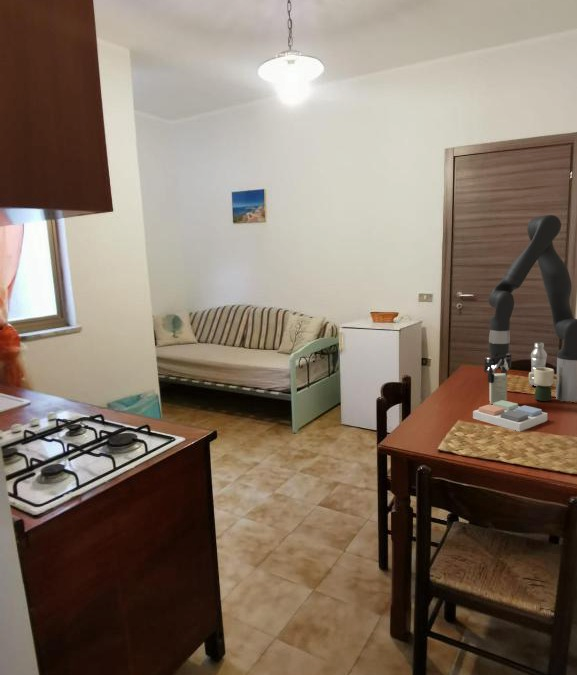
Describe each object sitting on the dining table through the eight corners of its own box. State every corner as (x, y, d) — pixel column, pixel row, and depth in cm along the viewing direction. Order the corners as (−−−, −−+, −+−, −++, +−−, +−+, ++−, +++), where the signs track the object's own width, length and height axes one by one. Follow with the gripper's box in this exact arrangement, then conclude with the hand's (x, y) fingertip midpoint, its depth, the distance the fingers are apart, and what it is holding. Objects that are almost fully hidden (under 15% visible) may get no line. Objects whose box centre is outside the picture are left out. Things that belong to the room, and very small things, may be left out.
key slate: (524, 410, 177) (524, 405, 177) (541, 414, 172) (541, 409, 172) (514, 413, 174) (514, 408, 174) (532, 417, 169) (532, 412, 168)
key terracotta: (488, 409, 180) (488, 404, 180) (504, 413, 175) (504, 408, 175) (478, 412, 177) (478, 407, 177) (494, 416, 172) (494, 411, 171)
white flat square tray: (500, 409, 187) (500, 402, 187) (547, 420, 172) (547, 413, 171) (472, 418, 178) (473, 411, 177) (519, 431, 163) (519, 423, 162)
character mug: (558, 399, 196) (560, 368, 193) (557, 404, 190) (558, 372, 188) (529, 396, 201) (530, 366, 199) (526, 400, 196) (527, 369, 194)
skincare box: (505, 402, 195) (506, 373, 193) (507, 405, 191) (507, 375, 189) (488, 401, 197) (489, 372, 195) (490, 404, 193) (490, 375, 191)
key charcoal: (510, 414, 173) (510, 410, 172) (528, 419, 167) (528, 414, 167) (500, 418, 170) (500, 413, 169) (518, 423, 164) (518, 418, 164)
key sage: (502, 404, 185) (502, 400, 184) (517, 408, 179) (518, 403, 179) (492, 407, 182) (492, 403, 181) (508, 411, 176) (508, 407, 176)
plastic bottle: (525, 386, 217) (527, 342, 214) (537, 384, 219) (539, 341, 215) (537, 389, 211) (538, 345, 207) (549, 387, 213) (551, 343, 209)
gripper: (501, 338, 197) (499, 376, 199) (479, 342, 189) (478, 382, 192) (518, 340, 191) (516, 380, 193) (496, 344, 183) (495, 385, 186)
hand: (497, 381), depth 193 cm, fingers open, 8 cm apart
